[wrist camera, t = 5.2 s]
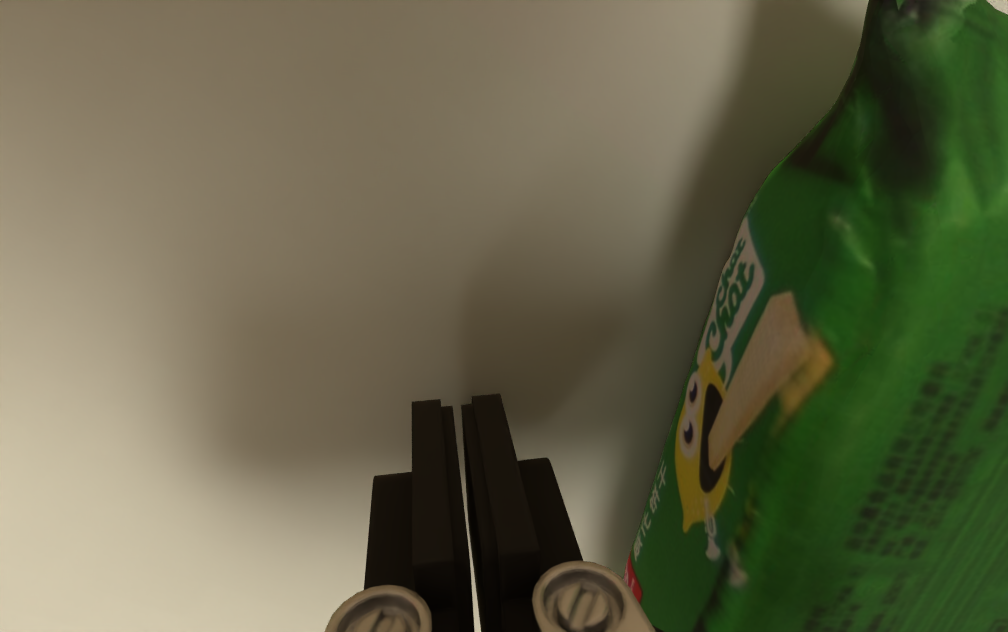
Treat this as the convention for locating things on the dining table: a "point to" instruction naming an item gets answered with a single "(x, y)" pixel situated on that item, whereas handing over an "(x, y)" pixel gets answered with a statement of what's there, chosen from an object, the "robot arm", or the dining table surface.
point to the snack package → (855, 364)
